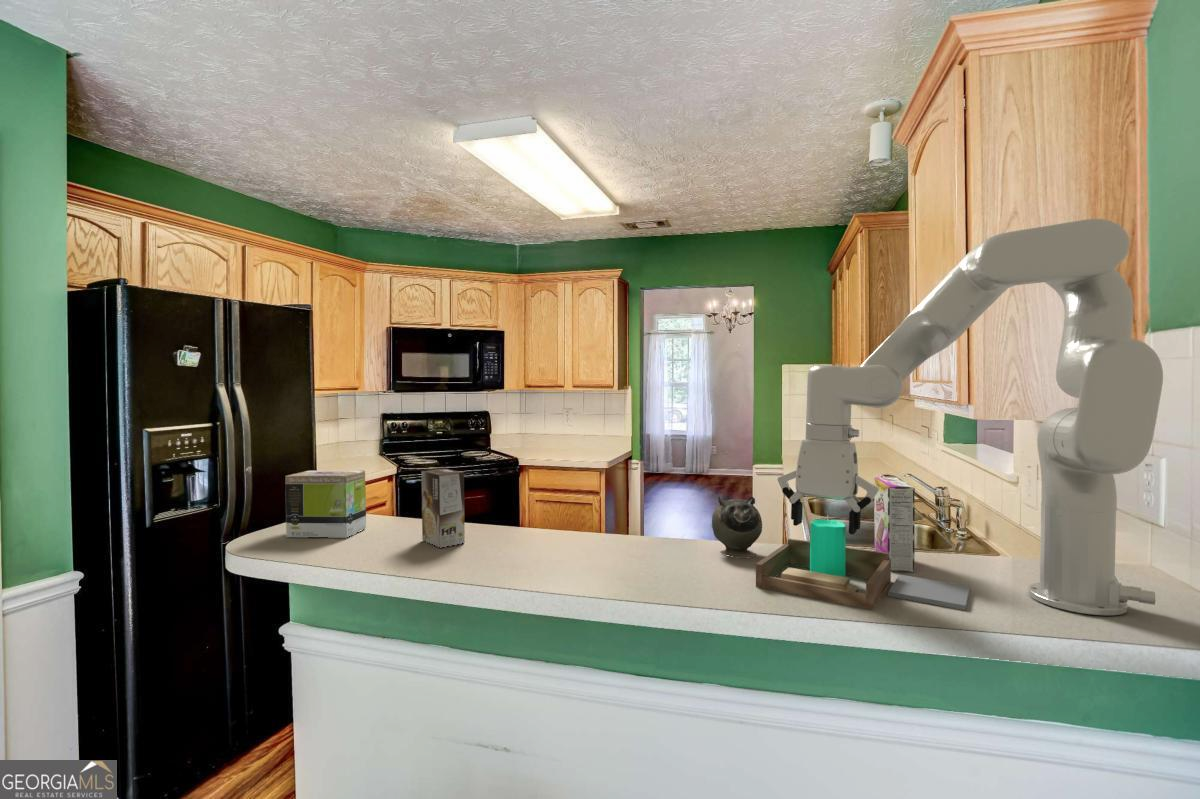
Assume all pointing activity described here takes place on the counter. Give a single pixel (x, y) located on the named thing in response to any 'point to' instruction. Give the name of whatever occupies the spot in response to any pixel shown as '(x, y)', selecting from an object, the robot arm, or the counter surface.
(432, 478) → the coffee box
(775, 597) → the counter surface
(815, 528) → the candle
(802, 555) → the wooden tray
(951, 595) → the mat
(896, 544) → the candy bar box
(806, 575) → the offcut stack
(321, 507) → the tea box
